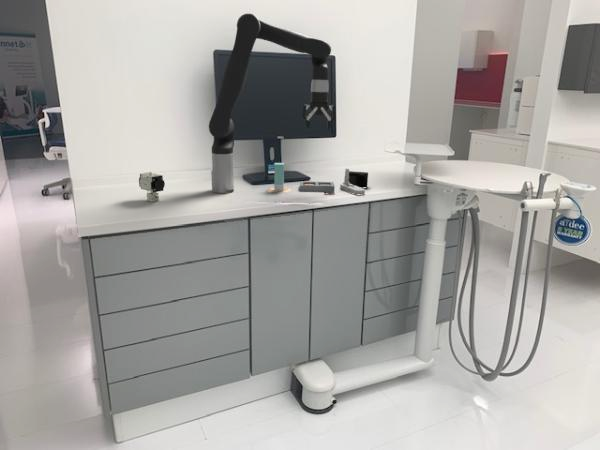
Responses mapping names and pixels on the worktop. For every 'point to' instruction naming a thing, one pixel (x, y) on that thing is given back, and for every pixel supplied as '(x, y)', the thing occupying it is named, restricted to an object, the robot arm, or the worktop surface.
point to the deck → (286, 190)
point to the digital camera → (358, 178)
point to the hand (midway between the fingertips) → (318, 129)
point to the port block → (317, 186)
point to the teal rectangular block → (279, 177)
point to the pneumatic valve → (151, 185)
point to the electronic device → (350, 185)
